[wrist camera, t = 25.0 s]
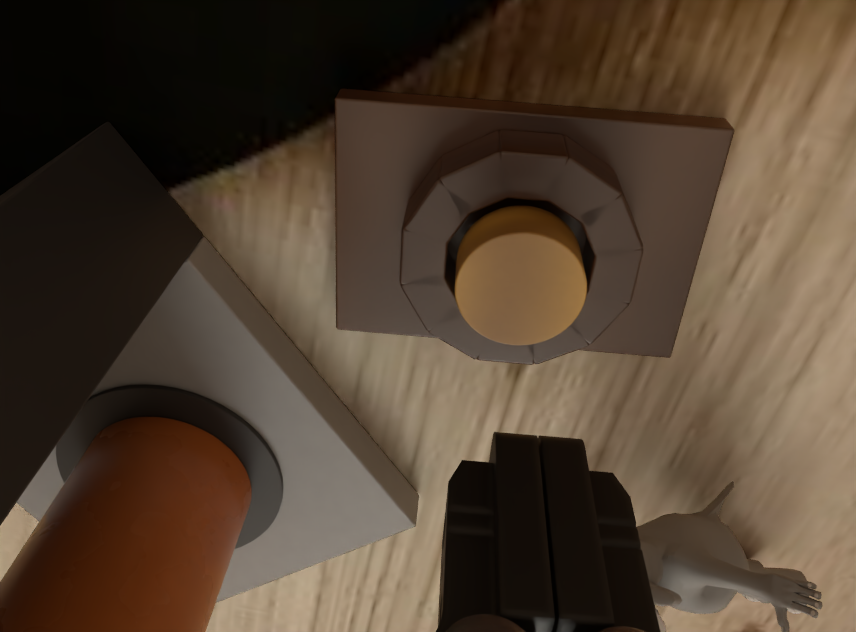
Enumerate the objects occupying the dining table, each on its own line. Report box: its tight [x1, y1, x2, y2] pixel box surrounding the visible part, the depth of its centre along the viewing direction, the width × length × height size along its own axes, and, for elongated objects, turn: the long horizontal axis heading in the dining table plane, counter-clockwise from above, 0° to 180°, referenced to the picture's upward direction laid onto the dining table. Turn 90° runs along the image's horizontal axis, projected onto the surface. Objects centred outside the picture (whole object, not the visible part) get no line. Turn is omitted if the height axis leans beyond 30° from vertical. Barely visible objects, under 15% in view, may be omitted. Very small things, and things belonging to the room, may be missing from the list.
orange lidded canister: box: [0, 417, 251, 632], centre depth 22 cm, size 6×6×10 cm
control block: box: [335, 89, 734, 365], centre depth 21 cm, size 10×7×2 cm
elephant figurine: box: [636, 482, 822, 632], centre depth 25 cm, size 10×6×9 cm
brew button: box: [455, 205, 587, 345], centre depth 19 cm, size 3×3×2 cm
